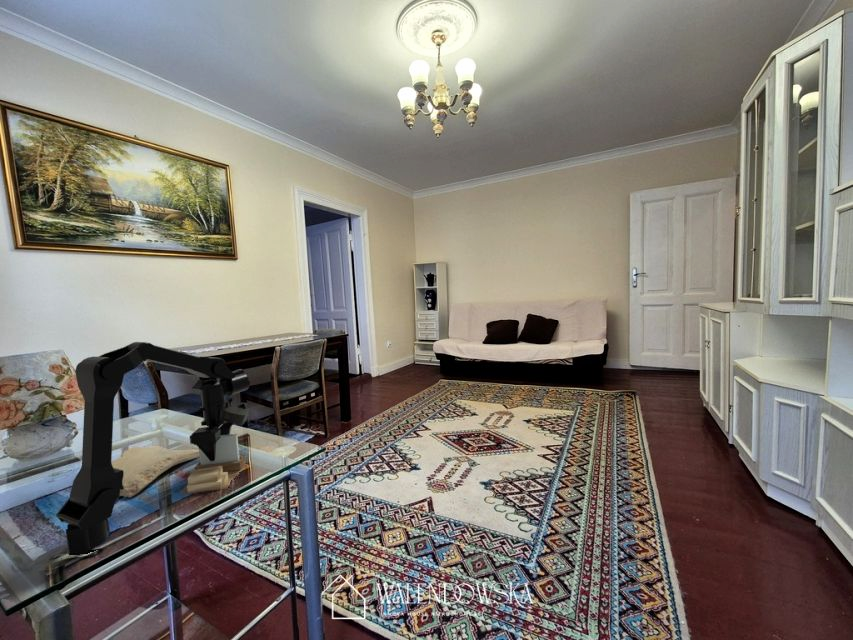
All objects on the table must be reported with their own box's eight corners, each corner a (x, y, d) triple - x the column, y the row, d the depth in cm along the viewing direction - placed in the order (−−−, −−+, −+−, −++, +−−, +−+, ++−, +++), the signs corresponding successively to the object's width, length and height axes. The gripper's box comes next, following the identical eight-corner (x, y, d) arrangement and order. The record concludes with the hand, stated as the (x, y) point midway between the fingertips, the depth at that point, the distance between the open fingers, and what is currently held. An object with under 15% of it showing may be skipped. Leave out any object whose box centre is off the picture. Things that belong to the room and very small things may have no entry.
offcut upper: (217, 481, 93) (216, 473, 92) (188, 485, 91) (187, 478, 91) (222, 472, 97) (222, 465, 97) (194, 476, 95) (194, 469, 95)
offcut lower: (221, 488, 93) (220, 481, 92) (187, 492, 91) (187, 485, 91) (228, 478, 97) (227, 471, 97) (196, 482, 96) (195, 475, 96)
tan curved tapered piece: (70, 502, 93) (133, 501, 89) (65, 475, 92) (128, 472, 89) (156, 459, 116) (208, 457, 113) (152, 437, 116) (205, 434, 112)
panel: (238, 468, 103) (235, 435, 102) (201, 472, 101) (197, 439, 100) (240, 466, 104) (237, 433, 103) (203, 470, 102) (199, 437, 101)
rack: (230, 491, 93) (228, 479, 92) (179, 498, 91) (177, 485, 90) (247, 465, 106) (246, 453, 106) (203, 470, 104) (202, 458, 104)
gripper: (232, 409, 92) (238, 465, 94) (254, 388, 111) (258, 436, 112) (185, 413, 91) (192, 471, 92) (215, 392, 109) (220, 440, 111)
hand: (219, 453), depth 102 cm, fingers open, 9 cm apart
